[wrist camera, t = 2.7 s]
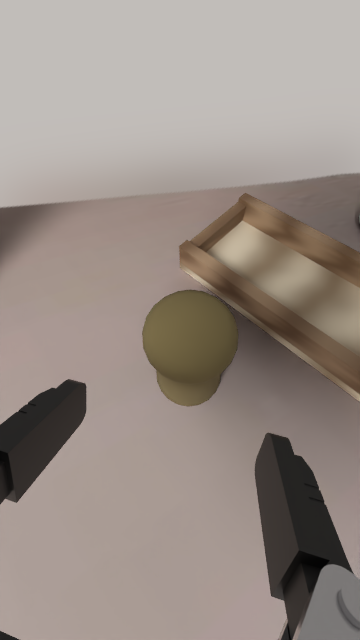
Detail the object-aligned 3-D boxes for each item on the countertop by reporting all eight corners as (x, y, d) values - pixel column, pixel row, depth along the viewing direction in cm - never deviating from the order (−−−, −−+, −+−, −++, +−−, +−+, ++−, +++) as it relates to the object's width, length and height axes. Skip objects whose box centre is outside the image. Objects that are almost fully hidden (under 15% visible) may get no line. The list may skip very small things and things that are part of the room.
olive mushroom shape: (195, 330, 22) (202, 255, 12) (234, 380, 20) (281, 336, 10) (144, 363, 21) (106, 309, 11) (180, 421, 19) (172, 418, 9)
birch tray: (180, 268, 26) (179, 246, 22) (238, 217, 29) (245, 192, 26) (413, 442, 17) (464, 446, 14) (458, 344, 21) (506, 329, 18)
